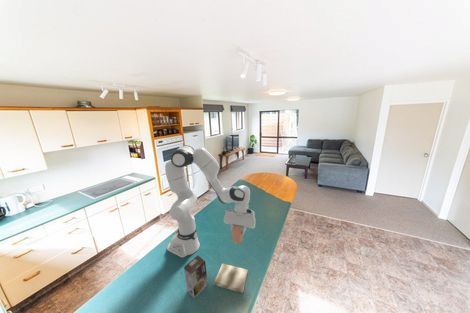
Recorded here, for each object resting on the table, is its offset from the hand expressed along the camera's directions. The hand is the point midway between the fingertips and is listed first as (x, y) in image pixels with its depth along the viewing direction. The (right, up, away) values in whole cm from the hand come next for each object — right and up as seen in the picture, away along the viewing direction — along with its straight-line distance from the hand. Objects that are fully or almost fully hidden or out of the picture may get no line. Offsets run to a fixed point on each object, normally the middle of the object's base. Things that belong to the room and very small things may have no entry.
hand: (237, 233), depth 101 cm
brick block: (0, -5, +2) cm, 5 cm away
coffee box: (-21, -24, -12) cm, 34 cm away
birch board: (-3, -22, -7) cm, 23 cm away
